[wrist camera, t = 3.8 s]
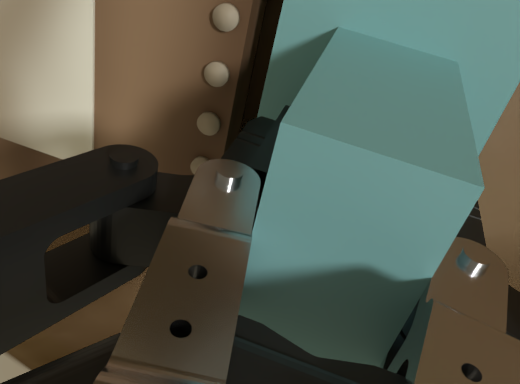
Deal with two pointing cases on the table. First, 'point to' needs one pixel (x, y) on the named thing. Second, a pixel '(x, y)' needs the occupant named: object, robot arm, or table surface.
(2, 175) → the board
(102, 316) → the table surface
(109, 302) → the table surface
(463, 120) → the stub
